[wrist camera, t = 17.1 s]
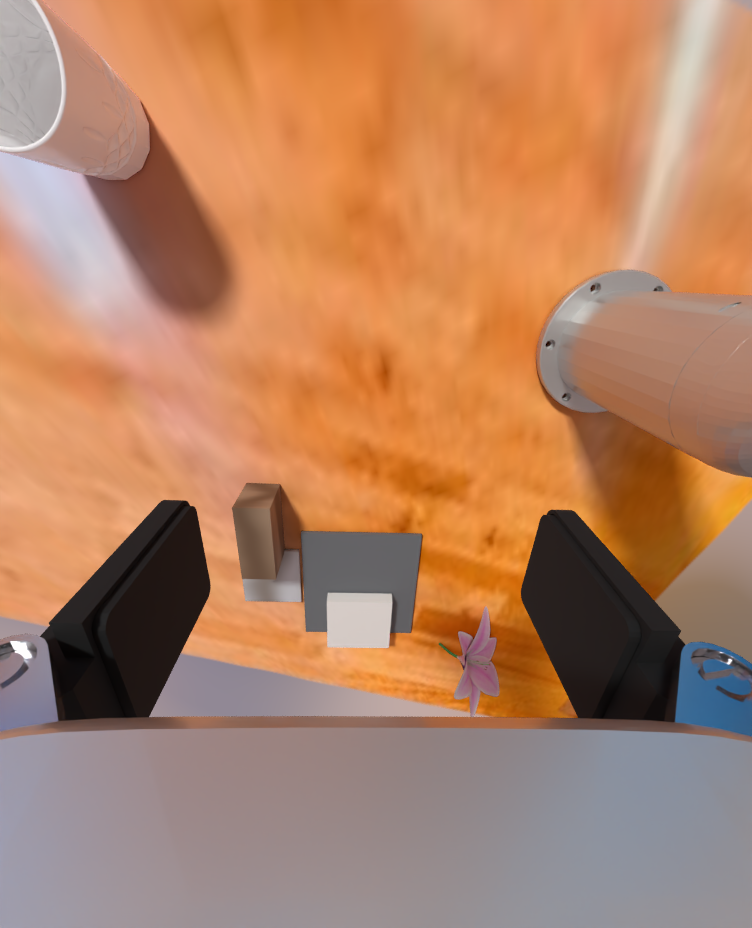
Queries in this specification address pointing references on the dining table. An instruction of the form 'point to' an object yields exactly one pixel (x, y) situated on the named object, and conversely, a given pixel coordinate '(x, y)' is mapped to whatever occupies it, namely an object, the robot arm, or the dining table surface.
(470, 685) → the lily
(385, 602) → the tile
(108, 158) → the white cup
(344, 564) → the mat
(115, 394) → the dining table surface
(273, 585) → the brown and grey block
